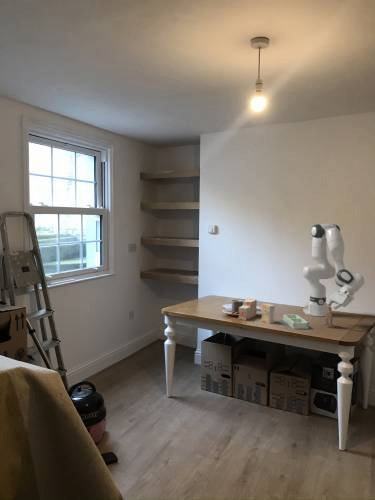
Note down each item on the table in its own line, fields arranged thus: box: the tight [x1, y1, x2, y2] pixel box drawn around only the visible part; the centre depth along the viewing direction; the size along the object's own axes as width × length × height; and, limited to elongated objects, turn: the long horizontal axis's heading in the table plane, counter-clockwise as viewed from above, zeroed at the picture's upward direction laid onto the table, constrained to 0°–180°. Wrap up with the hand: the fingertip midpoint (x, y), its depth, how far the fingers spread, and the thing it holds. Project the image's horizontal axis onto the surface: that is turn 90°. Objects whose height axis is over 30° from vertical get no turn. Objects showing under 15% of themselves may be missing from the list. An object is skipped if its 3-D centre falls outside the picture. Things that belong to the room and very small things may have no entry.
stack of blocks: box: [238, 298, 258, 321], centre depth 290 cm, size 21×6×12 cm, turn 149°
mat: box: [276, 319, 315, 330], centre depth 271 cm, size 22×20×1 cm
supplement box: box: [261, 303, 275, 324], centre depth 276 cm, size 8×5×13 cm, turn 31°
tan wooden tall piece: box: [322, 306, 335, 329], centre depth 266 cm, size 7×5×14 cm
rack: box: [282, 313, 310, 330], centre depth 271 cm, size 24×10×4 cm, turn 4°
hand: (331, 307), depth 266 cm, fingers open, 8 cm apart
